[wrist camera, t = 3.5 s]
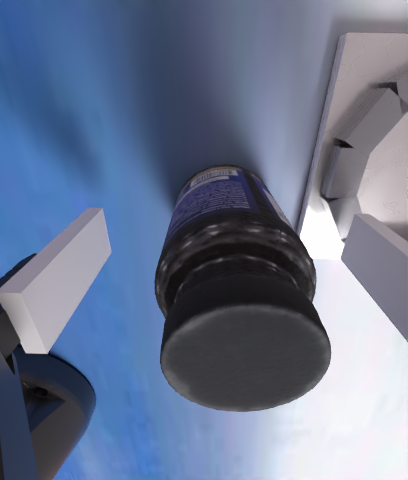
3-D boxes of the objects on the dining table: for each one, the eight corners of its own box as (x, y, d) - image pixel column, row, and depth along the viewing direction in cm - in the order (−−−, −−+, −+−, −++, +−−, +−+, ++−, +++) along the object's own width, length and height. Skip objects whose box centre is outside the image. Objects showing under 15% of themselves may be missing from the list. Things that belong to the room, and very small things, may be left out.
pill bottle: (166, 236, 18) (115, 405, 8) (190, 148, 15) (154, 246, 5) (250, 259, 18) (294, 438, 9) (288, 179, 15) (416, 316, 6)
